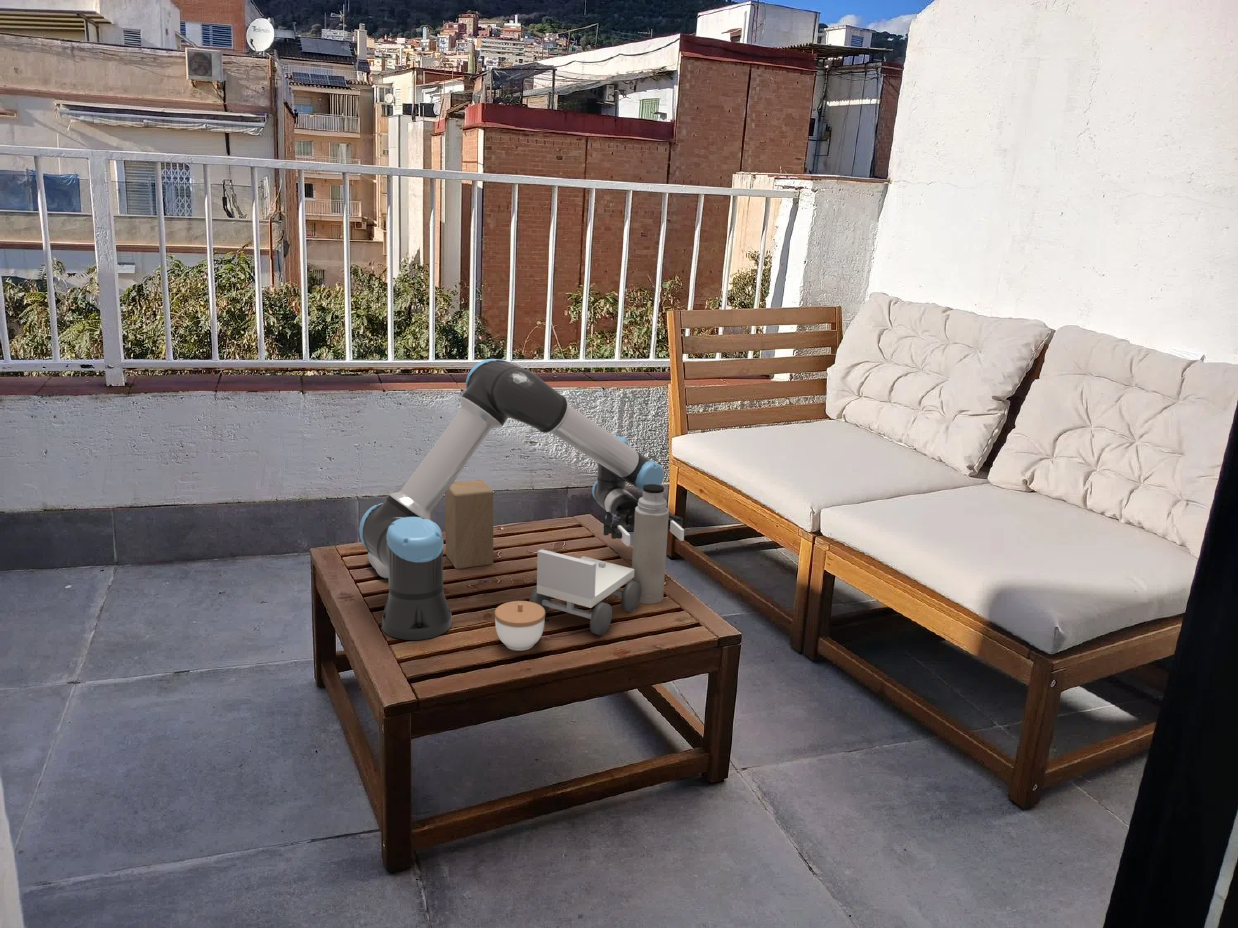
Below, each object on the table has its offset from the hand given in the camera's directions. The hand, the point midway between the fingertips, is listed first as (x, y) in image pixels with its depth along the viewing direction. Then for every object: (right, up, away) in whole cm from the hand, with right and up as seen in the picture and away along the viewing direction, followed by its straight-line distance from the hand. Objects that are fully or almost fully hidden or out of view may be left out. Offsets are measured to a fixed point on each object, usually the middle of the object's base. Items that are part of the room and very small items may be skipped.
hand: (655, 538), depth 227 cm
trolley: (-16, -17, -2) cm, 24 cm away
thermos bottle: (-2, -15, +8) cm, 17 cm away
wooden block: (-47, -8, +25) cm, 54 cm away
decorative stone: (-65, -10, +18) cm, 68 cm away
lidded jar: (-30, -22, -17) cm, 41 cm away
